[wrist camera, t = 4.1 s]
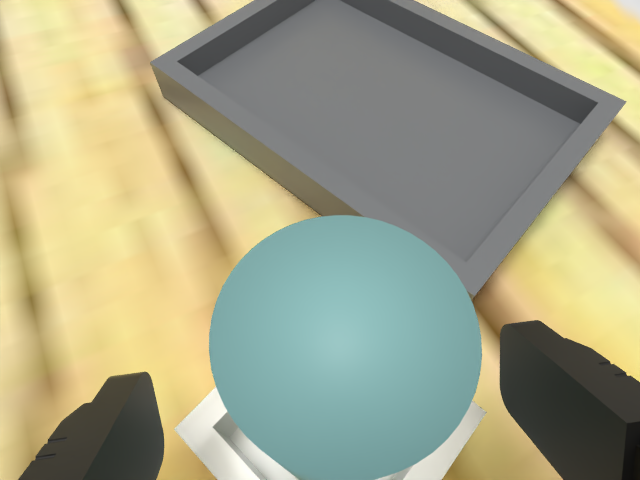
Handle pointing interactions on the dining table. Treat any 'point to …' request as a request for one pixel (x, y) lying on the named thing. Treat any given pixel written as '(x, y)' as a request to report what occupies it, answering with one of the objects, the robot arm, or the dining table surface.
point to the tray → (392, 118)
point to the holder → (266, 474)
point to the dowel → (345, 348)
